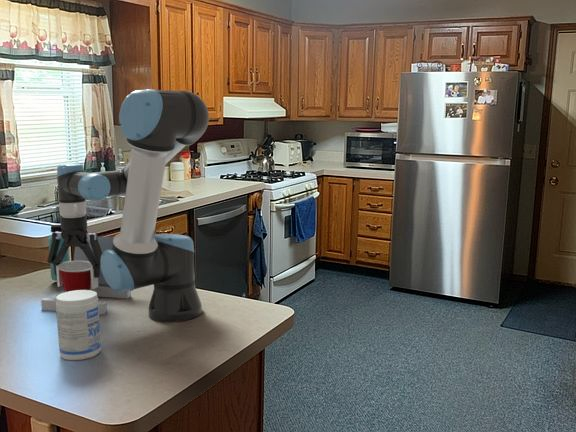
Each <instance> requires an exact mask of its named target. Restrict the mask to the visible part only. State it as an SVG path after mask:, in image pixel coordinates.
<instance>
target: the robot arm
mask: <svg viewBox="0 0 576 432" xmlns="http://www.w3.org/2000/svg"><path fill="white" fill-rule="evenodd" d="M118 121H119V124H120V131H121V133H122V135H124V137H125V138H126V143H127V144H128V145H129V147H130V149H131V152H130V153H131V154H130V160H129V162H128V163H127V164H126V165H125V166H124V167H123V168H122V169H119V170H117V169H116V170H107V171H95V172H86V171H85V168H84V165H83V164H82V163H62V164H58V165H57V167H56V173H57V175H56V180H57V191H58V192H57V193H58V203H59V204H58V206H59V207H58V208H59V215H60V218H59V220H60V225H61V229H62V232H59V231H57V232H51V235H52V244H51V248H50V252H49V251H48V257H47V260H46V261H47V263H48V264H50V263H52V264H53V265H54V273H55V275H57V281H56V284H57V288H59V287H62V286H64V285H63V281H62V277H61V273H60V271H59V269H58V265H59V264H60V263H62V262H61V261H62V260H63V258H64V256H65V254H66V252H67V250H68V248H69V249H70V247H74V248H75V247H80V249H82V250H83V252H84V254H85V255H86V257H87V258H88V260H89V261H90V263H91V265H92V266H93V267H91V268H90V271H91V287H92V289H95V288H97V287H98V277H100V266H101V270H102V273H103V276H104V278H105V280H106V282H107V283H108V285H109V286H110V287H111V288H112V289H113V290H115V291H117V292H124V291H131V292H132V291H134V290H137V289H141V288H144V287H150V286H152V285H153V290H152V295H151V297H150V301H149V304H148V316H149V318H150V319H151V320H154V321H158V322H165V323H166V322H170V323H171V322H182V321H188V320H192V319H195V318H197V317H198V316H200V315H201V314H202V312H203V309H202V308H203V307H202V302H201V299H200V296H199V293H198V291H197V288H196V280H195V279H196V278H195V248H194V240H193V238H192V237H190V236H188V235H183V234H177V233H175V234H174V233H156V234H155V231H156V230H155V229H156V225H157V218H158V211H159V206H160V200H161V194H162V188H163V187H162V186H163V182H164V175H165V169H166V165H167V164H168V162H170V161H171V160H172V159H173V158H174V157H175V156H176V155H177V154H178V153H180V152H181V151H182V150H183V149H184V148H185V147H186V146H191V145H193V144H195V143H196V142H197V141H198V140H199V139H200V138H201V137H202V136H203V135H204V133H206V130H207V128H208V126H209V123H210V116H209V110H208V105H206V103H205V102H204V100H203V99H202V98H201V97H200V96H199V95H197V94H196V93H194V92H191V91H187V90H169V89H167V90H166V89H152V88H146V89H138V90H134V91H132V92H130V94H128V95H126V97H125V99H124V100H123V102H122V104H121V106H120V110H119V116H118ZM119 196H121V197H122V196H124V201H123V202H124V203H123V210H122V217H121V224H120V232H119V233H118V234H116V235H115V236H113V237H114V238H113V243H112V249H111V250H110V249H107V250H106V251H104V252H103V253H102V251H101V248H100V245H99V242H98V233H97V232H93V233H89V232H88V230H87V229H88V218H87V216H86V214H87V200H89V201H91V202H92V201H101V200H104V199H105V198H112V197H119ZM61 237H62V238H63V239H64V241H63V243H62V245H61V246H62V247H61V249H60V250H59V252H58V248H59V244H60V239H61ZM87 238H89V239H88V240H90V244H91V247H92V249H93V251H92V249H91V248H90V246H89V243H88V241H87V240H86V239H87ZM83 244H84V245H83ZM57 252H58V254H57ZM93 252H94V253H93Z"/></svg>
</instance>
